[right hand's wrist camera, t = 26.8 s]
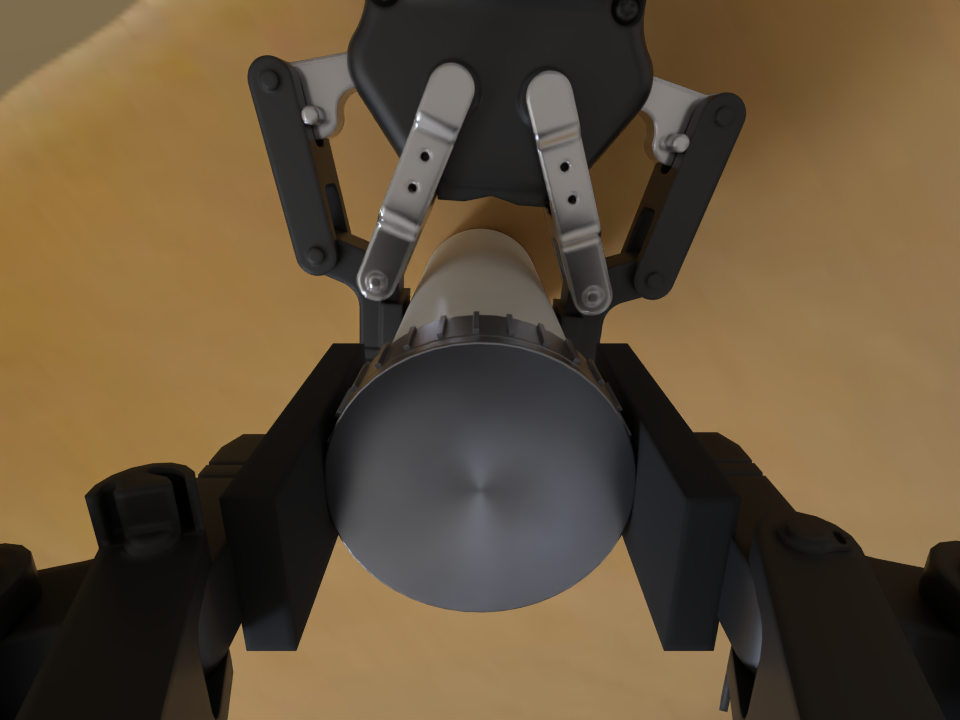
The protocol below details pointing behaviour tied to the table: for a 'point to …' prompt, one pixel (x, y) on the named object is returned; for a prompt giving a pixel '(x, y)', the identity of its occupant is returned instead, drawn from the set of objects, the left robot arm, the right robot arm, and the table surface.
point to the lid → (480, 465)
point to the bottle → (480, 283)
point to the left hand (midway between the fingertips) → (475, 402)
